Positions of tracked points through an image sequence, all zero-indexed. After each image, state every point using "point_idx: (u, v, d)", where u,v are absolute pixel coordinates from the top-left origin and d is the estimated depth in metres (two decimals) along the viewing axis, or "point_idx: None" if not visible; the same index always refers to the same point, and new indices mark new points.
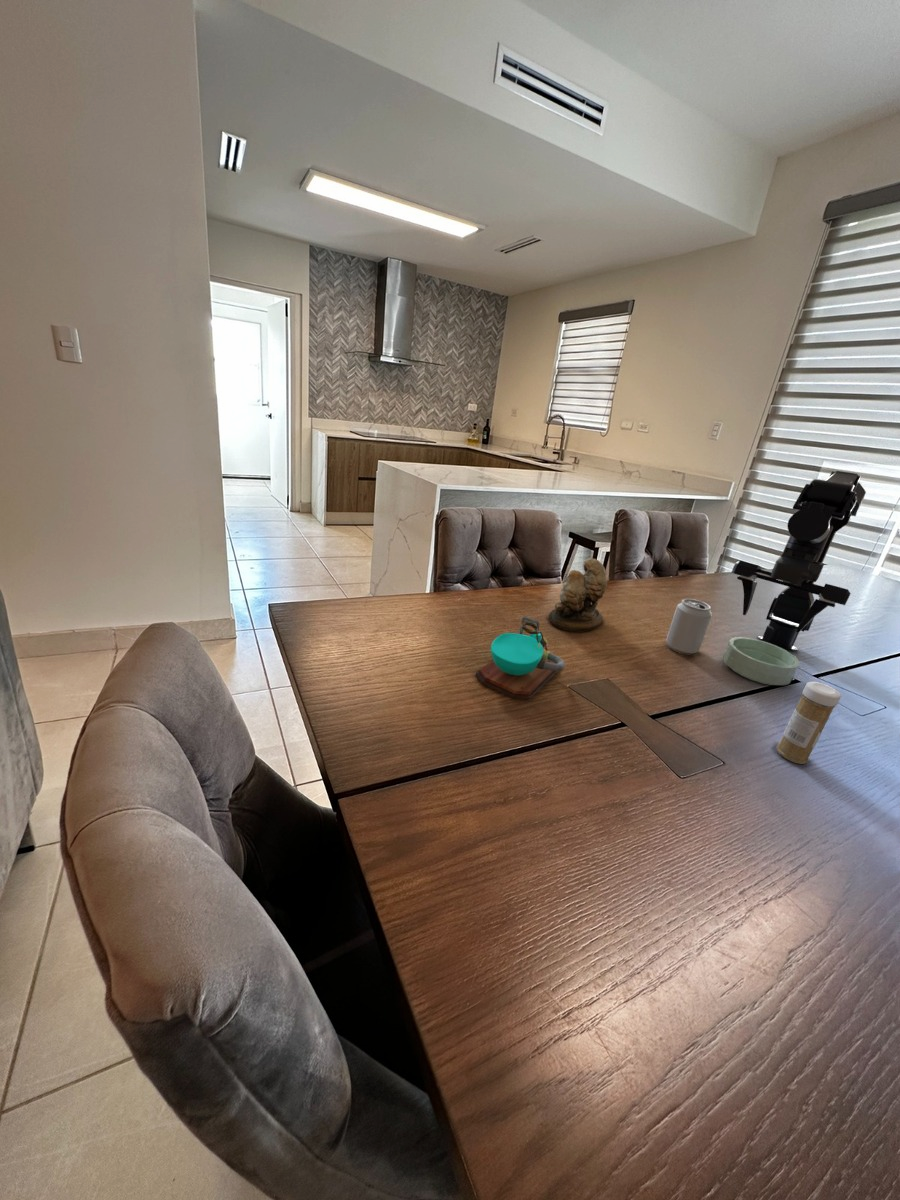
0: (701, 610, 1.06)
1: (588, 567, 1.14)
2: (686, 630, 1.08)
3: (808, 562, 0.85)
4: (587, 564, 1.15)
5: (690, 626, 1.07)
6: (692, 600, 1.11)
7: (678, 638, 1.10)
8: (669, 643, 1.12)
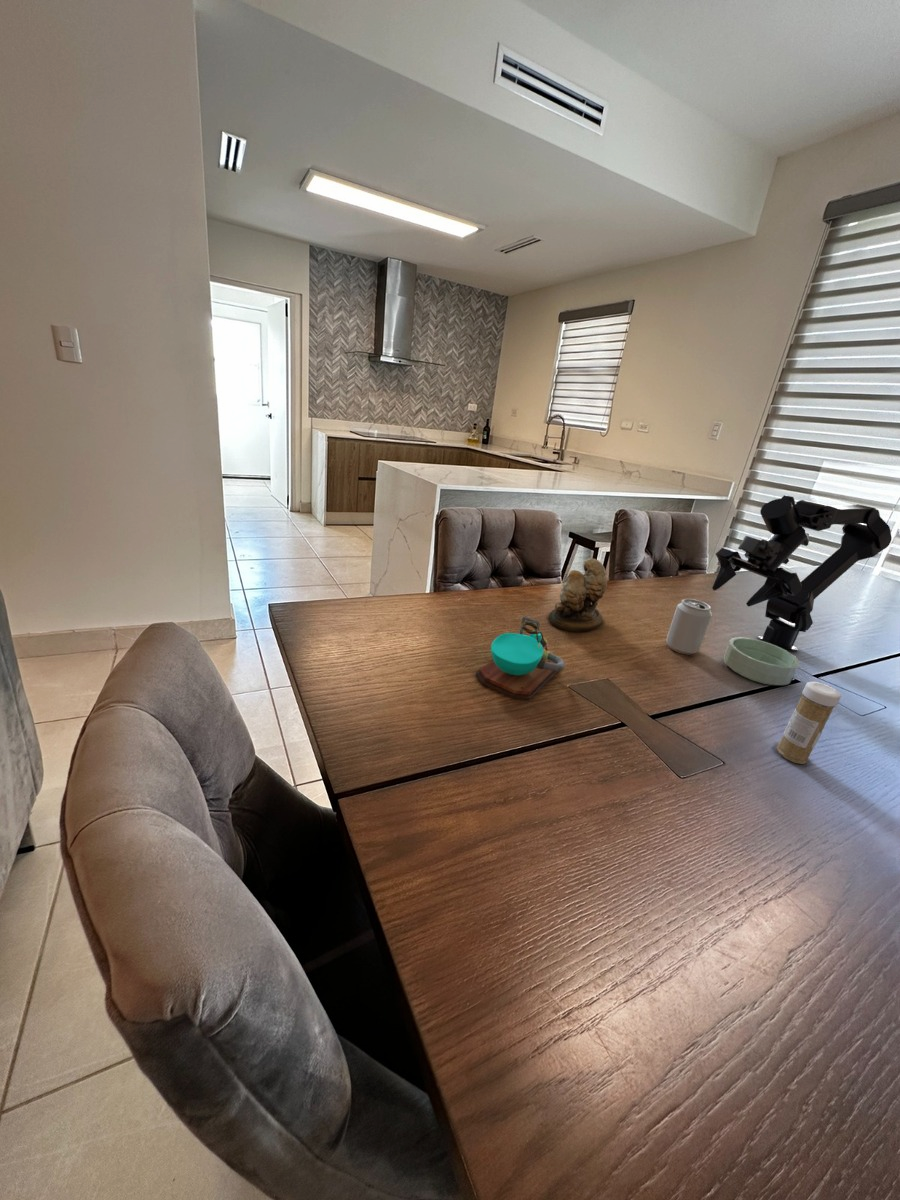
0: (701, 610, 1.06)
1: (588, 567, 1.14)
2: (686, 630, 1.08)
3: None
4: (587, 564, 1.15)
5: (690, 626, 1.07)
6: (692, 600, 1.11)
7: (678, 638, 1.10)
8: (669, 643, 1.12)
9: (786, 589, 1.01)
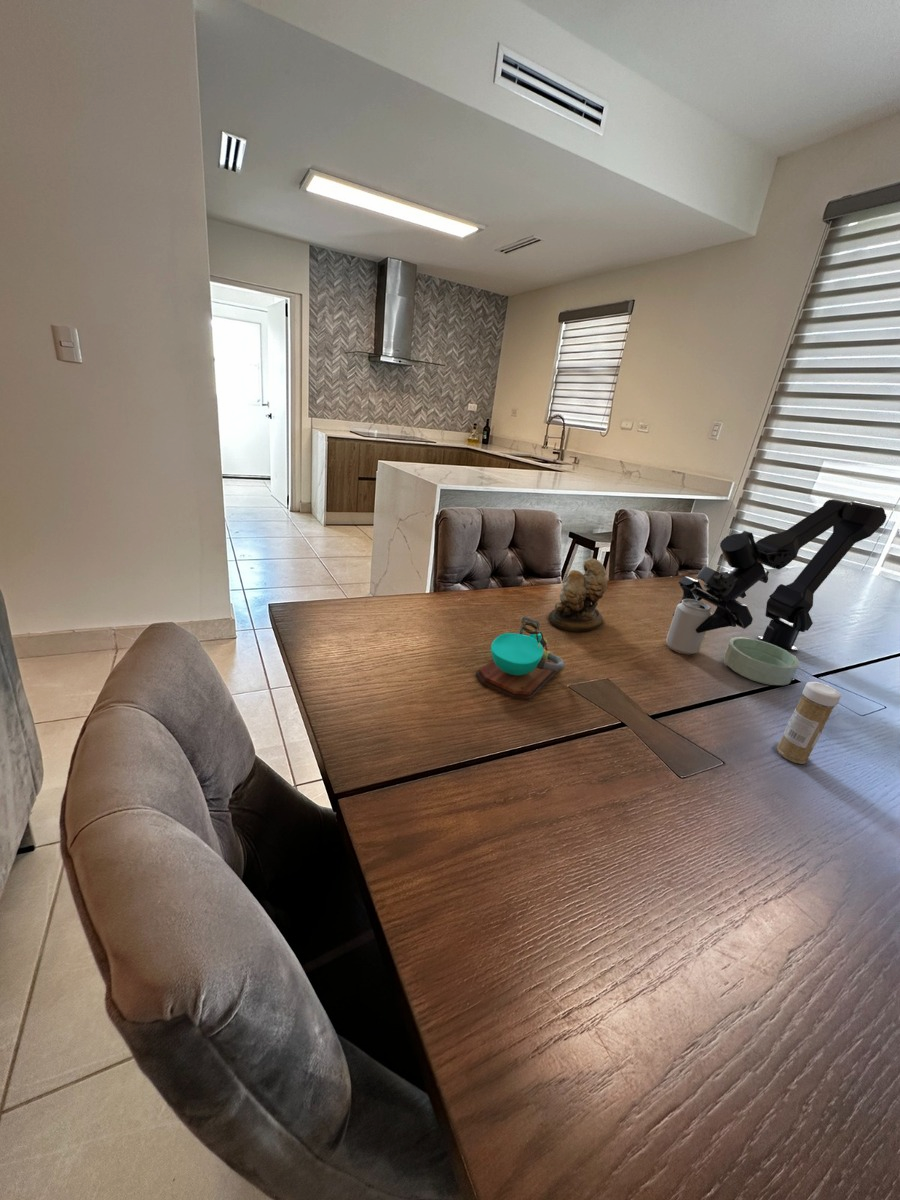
0: (701, 610, 1.06)
1: (588, 567, 1.14)
2: (686, 630, 1.08)
3: None
4: (587, 564, 1.15)
5: (690, 626, 1.07)
6: (692, 600, 1.11)
7: (678, 638, 1.10)
8: (669, 643, 1.12)
9: (734, 620, 1.04)
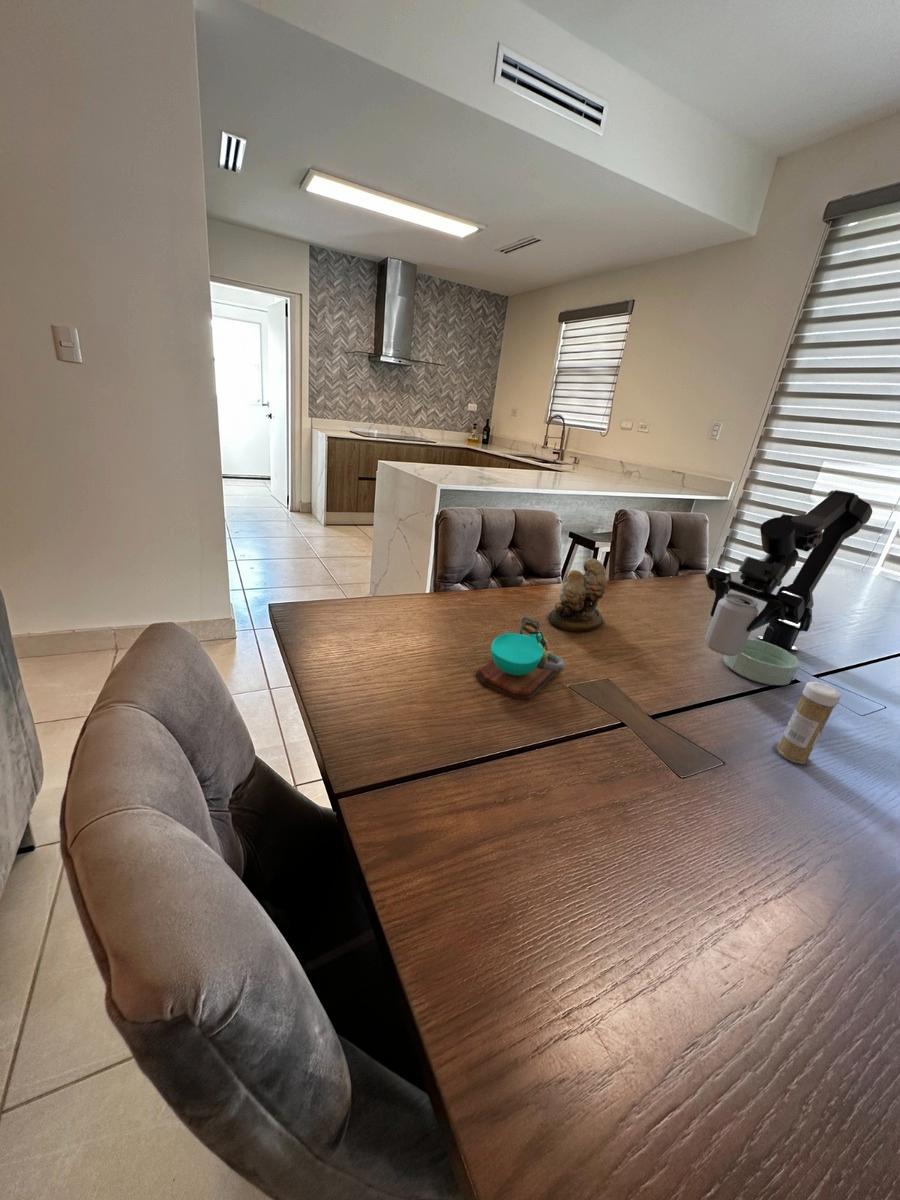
0: (751, 607, 0.95)
1: (588, 567, 1.14)
2: (736, 630, 0.96)
3: None
4: (587, 564, 1.15)
5: (741, 626, 0.96)
6: (731, 595, 1.00)
7: (726, 640, 0.98)
8: (714, 646, 1.00)
9: (785, 613, 0.95)
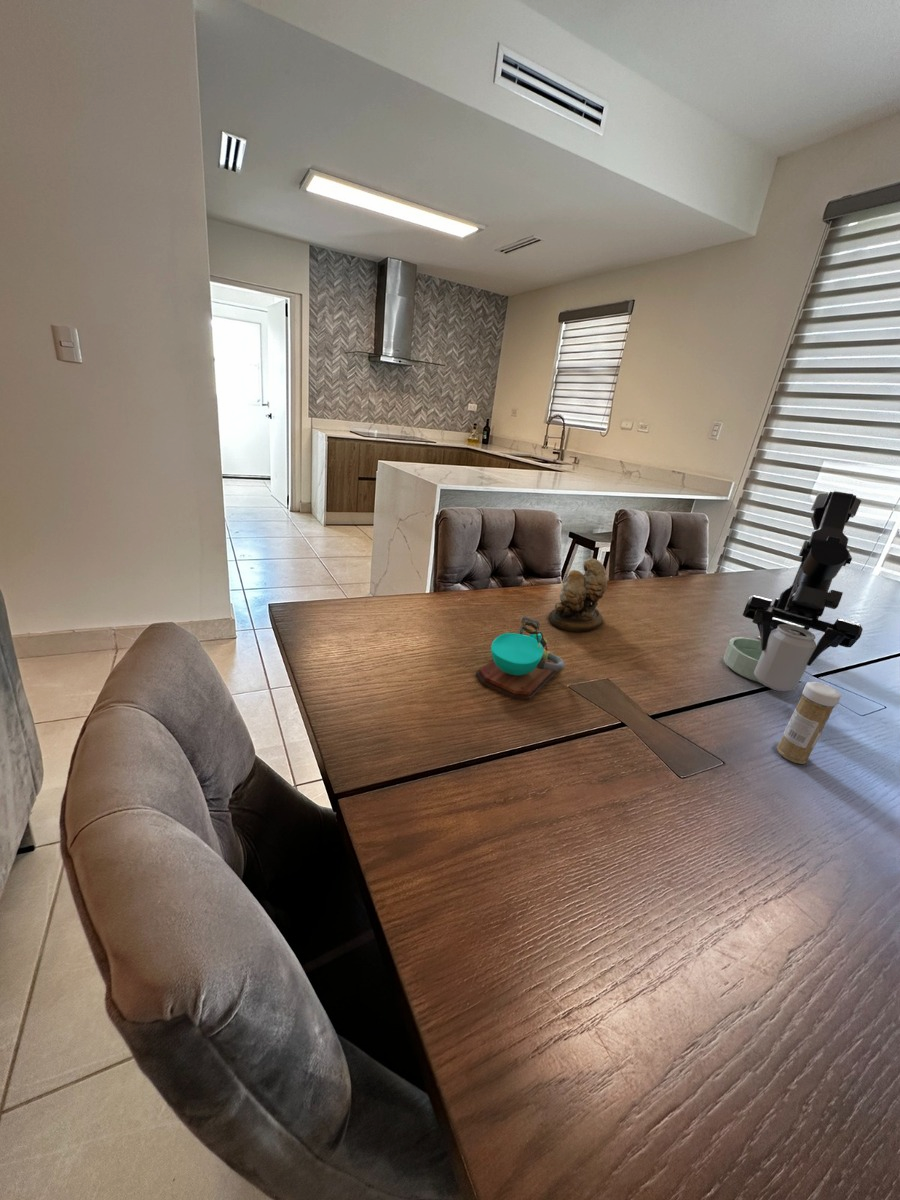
0: (813, 639, 0.88)
1: (588, 567, 1.14)
2: (799, 666, 0.89)
3: None
4: (587, 564, 1.15)
5: (803, 661, 0.89)
6: (781, 626, 0.93)
7: (788, 677, 0.90)
8: (772, 683, 0.92)
9: None
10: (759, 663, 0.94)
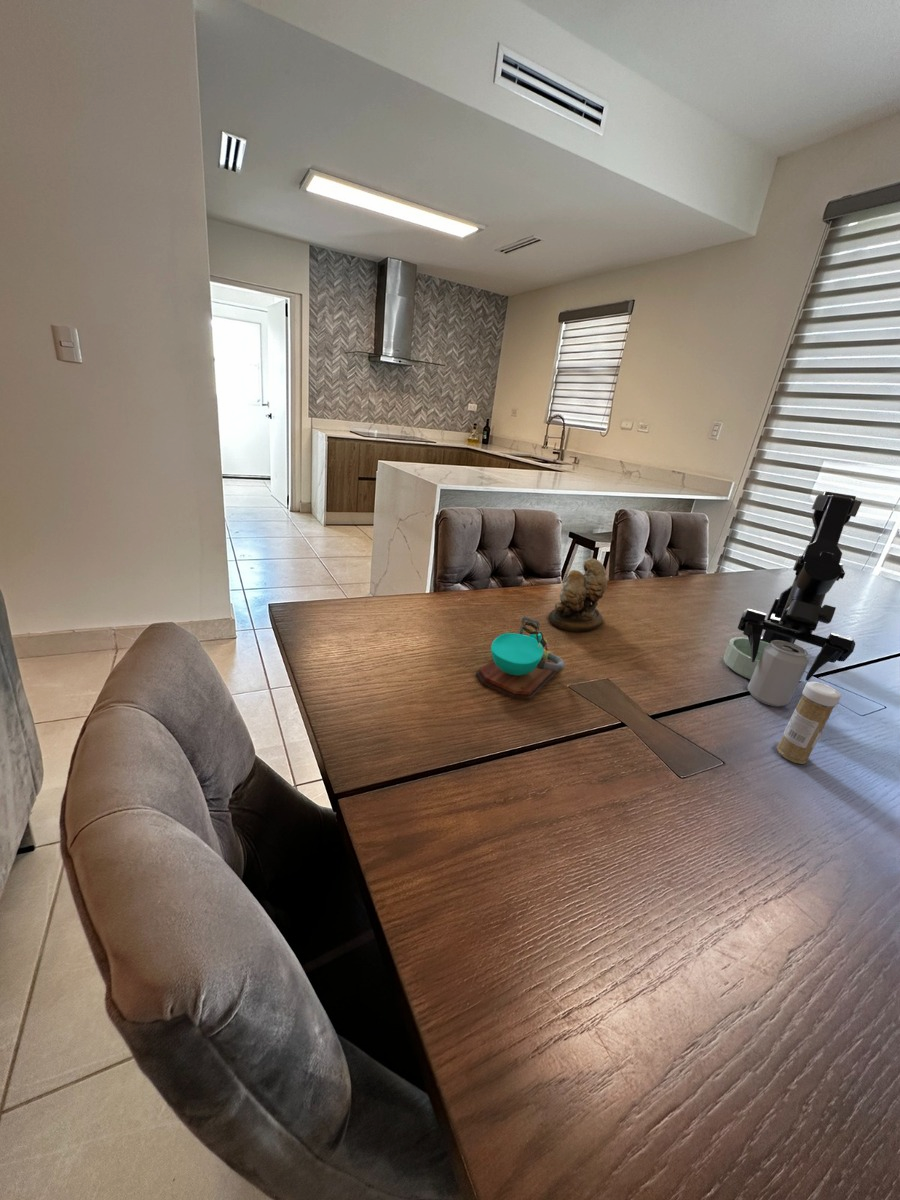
0: (805, 656, 0.90)
1: (588, 567, 1.14)
2: (791, 682, 0.90)
3: None
4: (587, 564, 1.15)
5: (796, 677, 0.90)
6: (774, 642, 0.94)
7: (780, 692, 0.91)
8: (765, 699, 0.93)
9: None
10: (753, 678, 0.96)
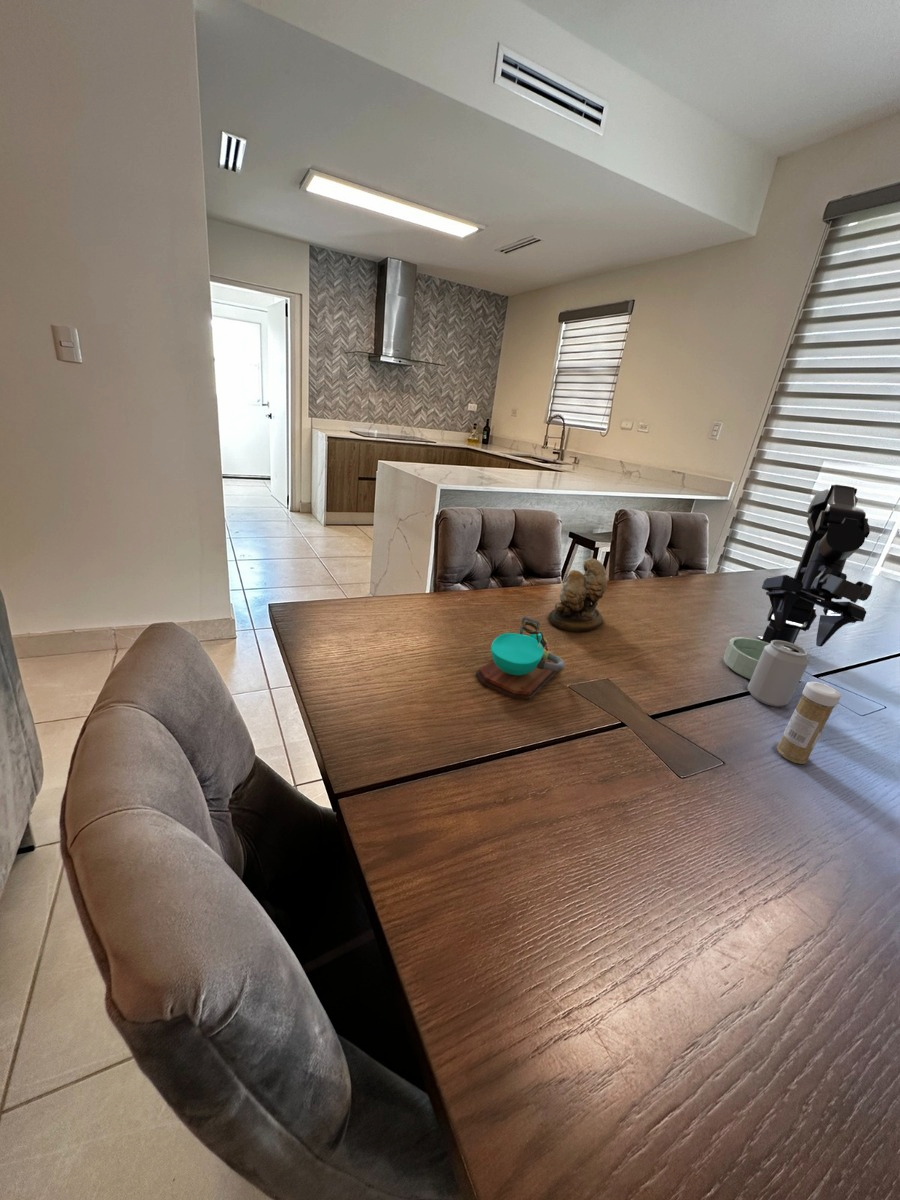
0: (805, 656, 0.90)
1: (588, 567, 1.14)
2: (791, 682, 0.90)
3: None
4: (587, 564, 1.15)
5: (796, 677, 0.90)
6: (774, 642, 0.94)
7: (780, 692, 0.91)
8: (765, 699, 0.93)
9: None
10: (753, 678, 0.96)
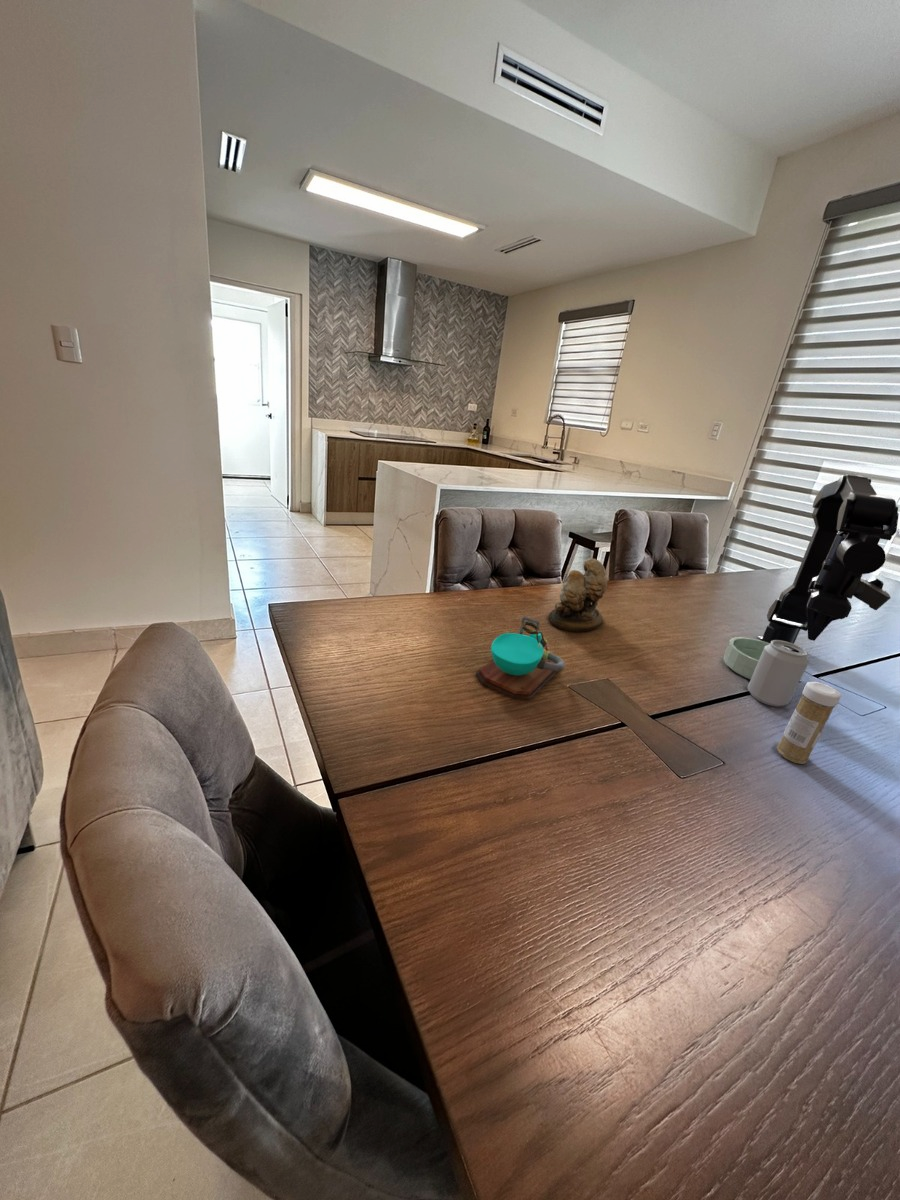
0: (805, 656, 0.90)
1: (588, 567, 1.14)
2: (791, 682, 0.90)
3: None
4: (587, 564, 1.15)
5: (796, 677, 0.90)
6: (774, 642, 0.94)
7: (780, 692, 0.91)
8: (765, 699, 0.93)
9: None
10: (753, 678, 0.96)
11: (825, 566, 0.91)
